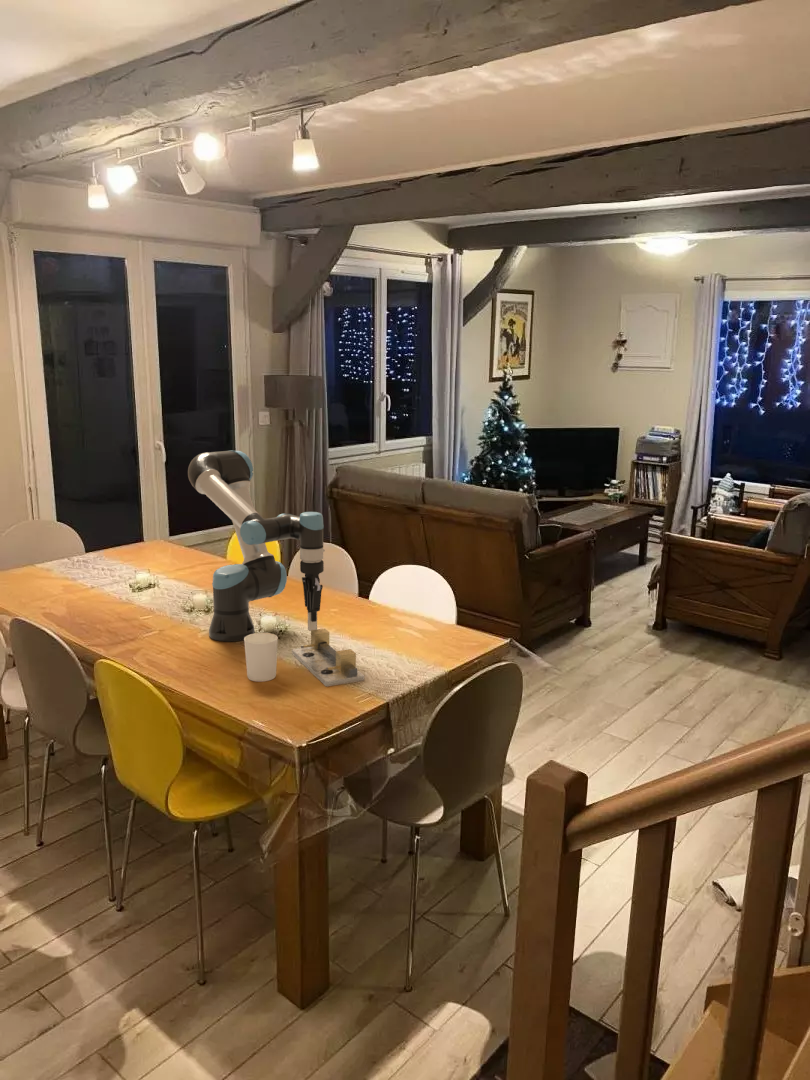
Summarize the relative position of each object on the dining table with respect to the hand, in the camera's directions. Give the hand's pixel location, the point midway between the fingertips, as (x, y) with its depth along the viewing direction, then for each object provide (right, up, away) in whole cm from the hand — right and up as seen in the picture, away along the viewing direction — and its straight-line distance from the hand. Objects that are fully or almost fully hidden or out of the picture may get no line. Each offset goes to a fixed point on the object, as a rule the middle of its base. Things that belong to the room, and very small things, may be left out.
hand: (312, 629), depth 270 cm
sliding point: (+1, -5, -7) cm, 8 cm away
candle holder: (-12, -11, -27) cm, 32 cm away
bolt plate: (+6, -9, -19) cm, 22 cm away
